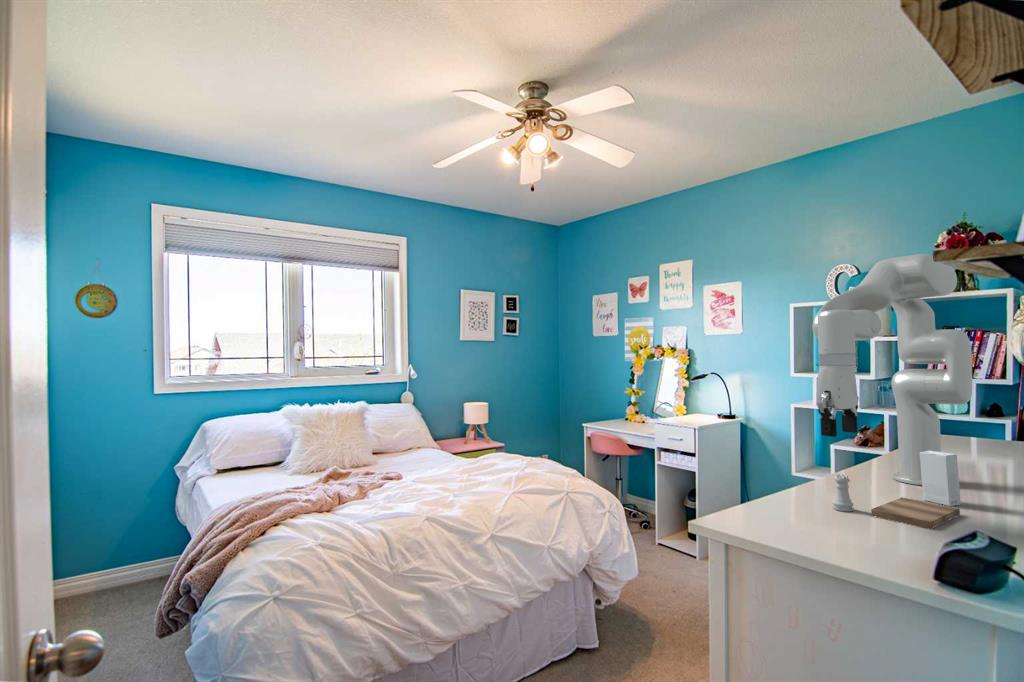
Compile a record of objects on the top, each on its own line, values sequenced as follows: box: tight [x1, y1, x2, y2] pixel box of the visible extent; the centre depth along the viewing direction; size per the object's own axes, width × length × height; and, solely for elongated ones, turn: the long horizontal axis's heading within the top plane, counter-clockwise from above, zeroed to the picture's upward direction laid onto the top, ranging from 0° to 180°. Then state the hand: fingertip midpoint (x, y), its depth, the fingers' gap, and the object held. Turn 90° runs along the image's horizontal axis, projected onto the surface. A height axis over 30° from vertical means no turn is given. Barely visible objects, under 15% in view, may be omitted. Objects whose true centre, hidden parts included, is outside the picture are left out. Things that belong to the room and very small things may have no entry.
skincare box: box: [920, 451, 961, 507], centre depth 125 cm, size 6×4×12 cm
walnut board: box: [870, 496, 961, 530], centre depth 116 cm, size 16×11×2 cm
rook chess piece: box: [831, 473, 855, 513], centre depth 122 cm, size 4×4×8 cm
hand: (839, 434), depth 122 cm, fingers open, 9 cm apart
